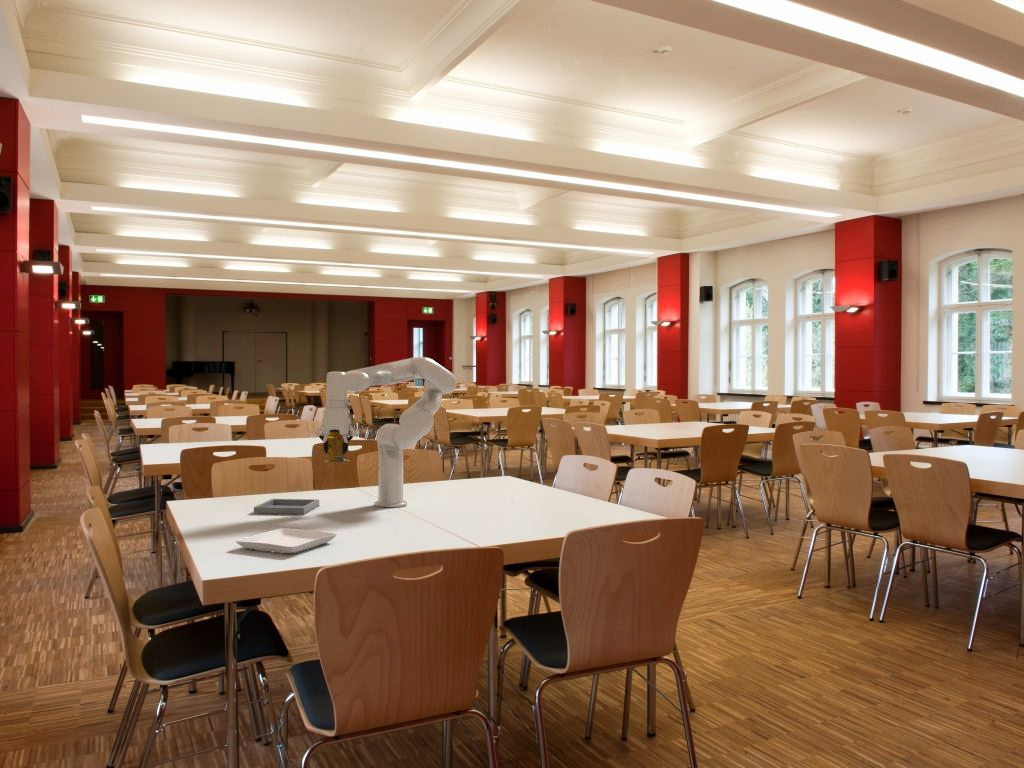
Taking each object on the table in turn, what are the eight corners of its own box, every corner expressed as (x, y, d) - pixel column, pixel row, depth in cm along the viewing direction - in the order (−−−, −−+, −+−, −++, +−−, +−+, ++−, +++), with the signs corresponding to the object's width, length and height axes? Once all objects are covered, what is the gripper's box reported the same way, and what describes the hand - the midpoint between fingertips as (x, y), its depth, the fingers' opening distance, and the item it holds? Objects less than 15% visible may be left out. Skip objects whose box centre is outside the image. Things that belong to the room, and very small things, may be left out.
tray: (272, 505, 296) (272, 498, 296) (319, 506, 296) (319, 499, 296) (253, 514, 278) (253, 507, 278) (303, 514, 277) (303, 508, 277)
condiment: (323, 461, 286) (323, 429, 286) (344, 459, 291) (344, 428, 291) (331, 463, 280) (331, 430, 280) (353, 461, 285) (353, 429, 285)
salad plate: (281, 537, 242) (281, 526, 242) (338, 543, 234) (338, 532, 234) (233, 551, 222) (233, 539, 222) (293, 559, 214) (293, 546, 214)
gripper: (362, 404, 289) (361, 452, 289) (316, 404, 289) (315, 451, 289) (357, 405, 281) (356, 454, 281) (310, 404, 282) (309, 453, 282)
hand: (335, 452), depth 285 cm, fingers closed on condiment, 6 cm apart
